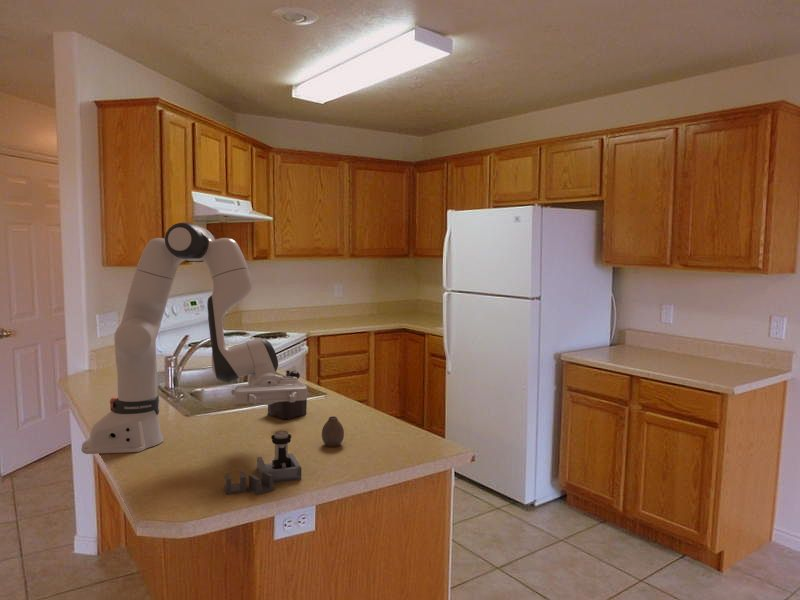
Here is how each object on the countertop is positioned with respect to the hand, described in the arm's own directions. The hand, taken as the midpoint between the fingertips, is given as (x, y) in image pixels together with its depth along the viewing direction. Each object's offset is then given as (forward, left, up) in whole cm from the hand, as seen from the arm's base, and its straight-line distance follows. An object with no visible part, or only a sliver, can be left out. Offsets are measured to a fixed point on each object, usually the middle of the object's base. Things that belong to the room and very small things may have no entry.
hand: (275, 400), depth 156 cm
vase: (+21, +16, -20) cm, 33 cm away
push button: (+1, -2, -19) cm, 19 cm away
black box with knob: (+15, +51, -20) cm, 56 cm away
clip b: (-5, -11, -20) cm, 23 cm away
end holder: (+1, -2, -20) cm, 20 cm away
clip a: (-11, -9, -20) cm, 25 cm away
